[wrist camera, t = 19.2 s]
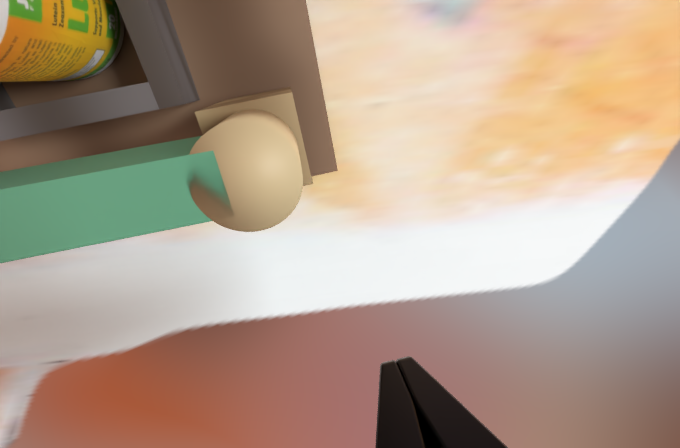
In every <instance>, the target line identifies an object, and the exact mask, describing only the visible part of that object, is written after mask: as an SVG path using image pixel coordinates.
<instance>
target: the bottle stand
mask: <svg viewBox="0 0 680 448" xmlns="http://www.w3.org/2000/svg"><path fill="white" fill-rule="evenodd" d="M115 1H116V3H117V6H118V8H119V11H120V13H121V16H122V18H123V21H124V37H123V42H122V46H121V49H120V51H119V53H118V55H117V57H116V58H115V59H114V61H113V62H112V63H111V64H110V65H109V66H108V67H107V68H106V69H105V70H103V71H102V72H100V73H99V74H97V75H95V76H92V77H89V78H85V79H80V80H72V81H15V82H0V172H3V171H9V170H14V169H20V168H25V167H31V166H36V165H42V164H48V163H53V162H59V161H64V160H70V159H75V158H81V157H86V156H92V155H97V154H103V153H109V152H114V151H120V150H125V149H131V148H136V147H142V146H147V145H153V144H158V143H164V142H170V141H175V140H181V139H186V138H192V137H197V136H203V135H204V134H205V133H206V132H208V131H209V130H210V129H212V128H213V127H215V126H216V125H218V124H219V123H220V122H222V121H223V120H225V119H226V118H228V117H229V116H231V115H232V114H234V113H237V112H239V111H243V110H248V109H258V110H263V111H267V112H270V113H272V114H274V115H276V116H277V117H279V118H280V119H281V120H283V121H284V122H285V123H286V124H287V125H288V126H289V128H290V129H291V130H292V132H293V134H294V136H295V138H296V141H297V145H298V150H299V156H300V162H301V167H302V174H303V186H305V185H309V184H313V182H312V178H311V176H315V175H319V174H324V173H329V172H333V171H338V170H337V165H336V160H335V154H334V149H333V144H332V138H331V133H330V128H329V122H328V117H327V112H326V106H325V101H324V96H323V90H322V85H321V80H320V74H319V69H318V64H317V58H316V53H315V48H314V42H313V37H312V32H311V26H310V21H309V16H308V10H307V5H306V0H115Z"/></svg>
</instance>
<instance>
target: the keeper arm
mask: <svg viewBox="0 0 680 448" xmlns="http://www.w3.org/2000/svg"><path fill="white" fill-rule="evenodd" d="M302 188H303V174H302V167H301V162H300V156H299V150H298V145H297V141H296V138H295V136H294V134H293V132H292V130H291V129H290V128H289V126H288V125H287V124H286V123H285V122H284V121H283V120H281V119H280V118H279V117H277V116H276V115H274V114H272V113H270V112H267V111H263V110H258V109H248V110H243V111H239V112H237V113H234V114H232V115H231V116H229V117H228V118H226V119H225V120H223V121H222V122H220V123H219V124H218V125H216V126H215V127H213V128H212V129H210V130H209V131H208V132H206V133H205V134H204V135H203V136H197V137H192V138H186V139H181V140H175V141H170V142H164V143H158V144H153V145H147V146H142V147H136V148H131V149H125V150H120V151H114V152H109V153H103V154H97V155H92V156H86V157H81V158H75V159H70V160H64V161H59V162H53V163H48V164H42V165H36V166H31V167H25V168H20V169H14V170H9V171H3V172H0V263H4V262H9V261H14V260H19V259H24V258H29V257H34V256H39V255H44V254H49V253H54V252H59V251H64V250H69V249H74V248H79V247H84V246H89V245H94V244H99V243H104V242H109V241H114V240H119V239H124V238H129V237H134V236H139V235H144V234H149V233H154V232H159V231H164V230H169V229H174V228H179V227H184V226H189V225H194V224H199V223H204V222H209V221H214V222H216V223H217V224H219V225H221V226H223V227H226V228H229V229H232V230H237V231H244V232H254V231H261V230H265V229H268V228H271V227H273V226H275V225H277V224H279V223H280V222H282V221H283V220H284V219H286V218H287V217H288V216H289V215H290V214H291V213H292V211H293V210H294V209H295V207H296V205H297V204H298V202H299V199H300V197H301V193H302Z"/></svg>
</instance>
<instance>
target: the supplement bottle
mask: <svg viewBox="0 0 680 448" xmlns="http://www.w3.org/2000/svg"><path fill="white" fill-rule="evenodd" d="M123 37H124V21H123V18H122V16H121V13H120V11H119V8H118V6H117V3H116V1H115V0H0V82H15V81H72V80H80V79H85V78H89V77H92V76H95V75H97V74H99V73H100V72H102V71H103V70H105V69H106V68H107V67H108V66H109V65H110V64H111V63H112V62H113V61H114V59H115V58H116V57H117V55H118V53H119V51H120V49H121V46H122V42H123Z"/></svg>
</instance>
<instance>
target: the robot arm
mask: <svg viewBox="0 0 680 448" xmlns="http://www.w3.org/2000/svg"><path fill="white" fill-rule="evenodd" d="M376 448H508V447H507V446H506V445H505V444H504V443H502V442H501V441H500V440H499V439H498V438H497V437H496V436H495V435H494V434H493V433H492V432H491V431H490V430H488V428H487V427H485V426H484V425H483V424H482V423H481V422H480V421H479V420H478V419H477V418H476V417H475V416H474V415H473V414H471V412H469V411H468V410H467V409H466V408H465V407H464V406H463V405H462V404H461V403H460V402H459V401H457V399H456V398H455V397H454V396H453V395H451V394H450V393H449V392H448V391H447V390H446V389H445V388H444V387H443V386H442V385H441V384H440V383H439V382H438V381H437V380H436V379H434V378H433V377H432V376H431V375H430V374H429V373H428V372H427V371H426V370H425V369H424V368H423V367H422V366H421V365H420V364H418V362H416V361H415V360H414V359H413V358H412V357H404V358H400V359H397V360H396V361H394V360H392V361H388V362H383V363H382V364H381V366H380V381H379V397H378V415H377V432H376Z"/></svg>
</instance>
